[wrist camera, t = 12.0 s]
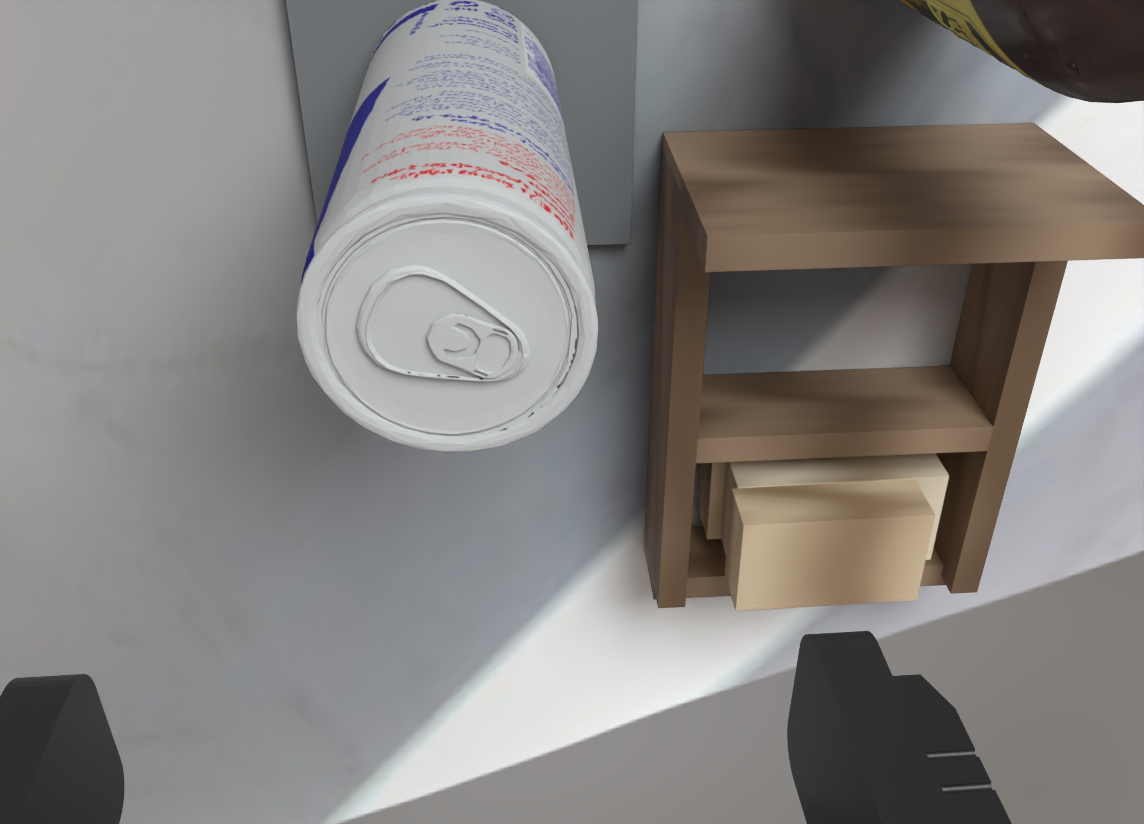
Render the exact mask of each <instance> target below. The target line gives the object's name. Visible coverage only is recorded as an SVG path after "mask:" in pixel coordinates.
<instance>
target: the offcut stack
mask: <svg viewBox="0 0 1144 824" xmlns="http://www.w3.org/2000/svg"><path fill="white" fill-rule="evenodd" d="M948 479H949V475H948V473H947V471H946V470H945V468H944V466H943V465H942V463H941V462H940V460H939V458H938V457H937V455H936V453H928V454H904V455H881V456H857V457H834V458H810V459H786V460H763V461H739V462H716V463H701V476H700V491H699V506H698V509H699V512H700V516H701V520H702V524H703V527H704V531H705V535H706V538H707V539H721V540H722V544H723V547H724V551H725V554H726V564H725V575H726V578H727V582H728V585H729V589H730V593H731V596H732V600H733V603H734V607H735V610H736V611H744V610H761V609H778V608H794V607H811V606H828V605H845V604H862V603H879V602H896V601H913V600H917V597H918V592H919V588H920V583H921V579H922V574H923V569H924V565H925V560H931V556H932V552H933V547H934V543H935V538H936V534H937V529H938V525H939V520H940V516H941V511H942V506H943V502H944V497H945V493H946V488H947V484H948Z"/></svg>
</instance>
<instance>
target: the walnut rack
mask: <svg viewBox="0 0 1144 824" xmlns="http://www.w3.org/2000/svg"><path fill="white" fill-rule="evenodd" d="M1130 258H1144V205H1143V204H1142V203H1140V202H1139V201H1138V200H1136V199H1135V198H1134V197H1132V196H1131V195H1130V194H1128V193H1127V192H1126V191H1124V190H1123V189H1121V188H1120V187H1119V186H1117V185H1116V184H1115V183H1113V182H1112V181H1111V180H1109V179H1108V178H1107V177H1105V176H1104V175H1103V174H1101V173H1100V172H1099V171H1097V170H1096V169H1095V168H1093V167H1092V166H1091V165H1089V164H1088V163H1087V162H1085V161H1084V160H1083V159H1081V158H1080V157H1079V156H1077V155H1076V154H1075V153H1073V152H1072V151H1071V150H1069V149H1068V148H1067V147H1065V146H1064V145H1063V144H1061V143H1060V142H1059V141H1057V140H1056V139H1055V138H1053V137H1052V136H1051V135H1049V134H1048V133H1047V132H1045V131H1044V130H1043V129H1041V128H1040V127H1039V126H1037V125H1036V124H1035V123H1021V124H980V125H939V126H898V127H857V128H815V129H774V130H733V131H692V132H663V143H662V164H661V186H660V208H659V229H658V251H657V273H656V295H655V316H654V338H653V360H652V381H651V403H650V425H649V447H648V468H647V490H646V512H645V533H644V551H645V556H646V562H647V567H648V572H649V577H650V582H651V587H652V592H653V598H654V599H656V600H657V605H658V608H671V607H685V601H686V598H693V597H713V596H731V593H730V589H729V585H728V582H727V578H726V575H725V564H726V554H725V551H724V547H723V544H722V540H721V539H707V538H706V535H705V531H704V527H703V526H691V522H692V509H693V496H694V483H695V470H696V463H716V462H739V461H763V460H786V459H810V458H834V457H857V456H881V455H904V454H928V453H936V455H937V457H938V458H939V460H940V462H941V463H942V465H943V466H944V468H945V470H946V471H947V473H948V475H949V479H948V484H947V488H946V493H945V497H944V502H943V506H942V511H941V516H940V520H939V525H938V529H937V534H936V538H935V543H934V547H933V552H932V556H931V560H925V565H924V569H923V574H922V579H921V583H920V586H935V585H947V587H948V589H949V591H950V593H970V592H977V590H978V586H979V583H980V579H981V575H982V572H983V568H984V565H985V561H986V557H987V554H988V550H989V546H990V543H991V539H992V535H993V532H994V528H995V524H996V521H997V517H998V513H999V510H1000V506H1001V502H1002V499H1003V495H1004V492H1005V488H1006V484H1007V481H1008V477H1009V473H1010V470H1011V466H1012V462H1013V459H1014V455H1015V451H1016V448H1017V444H1018V440H1019V437H1020V433H1021V430H1022V426H1023V422H1024V419H1025V415H1026V411H1027V408H1028V404H1029V400H1030V397H1031V393H1032V389H1033V386H1034V382H1035V378H1036V375H1037V371H1038V367H1039V364H1040V360H1041V357H1042V353H1043V349H1044V346H1045V342H1046V338H1047V335H1048V331H1049V327H1050V324H1051V320H1052V316H1053V313H1054V309H1055V305H1056V302H1057V298H1058V294H1059V291H1060V287H1061V284H1062V280H1063V276H1064V273H1065V269H1066V265H1067V262H1068V260H1099V259H1130ZM942 264H973V265H972V269H971V274H970V279H969V283H968V288H967V292H966V297H965V301H964V306H963V310H962V315H961V319H960V324H959V328H958V333H957V337H956V342H955V346H954V351H953V355H952V360H951V364H950V366H931V367H905V368H878V369H852V370H825V371H798V372H772V373H745V374H719V375H703V365H704V352H705V339H706V325H707V312H708V299H709V286H710V273H711V272H724V271H755V270H786V269H817V268H849V267H880V266H911V265H942Z"/></svg>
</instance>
